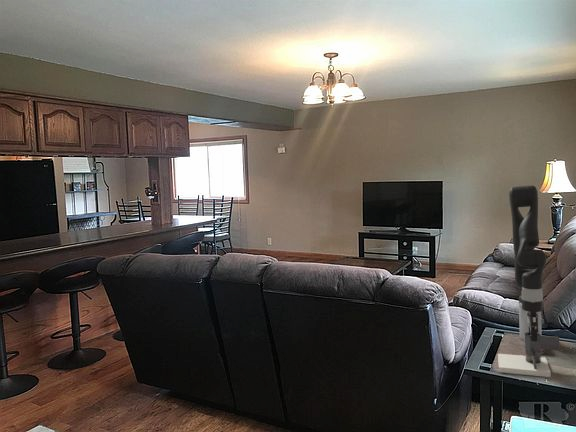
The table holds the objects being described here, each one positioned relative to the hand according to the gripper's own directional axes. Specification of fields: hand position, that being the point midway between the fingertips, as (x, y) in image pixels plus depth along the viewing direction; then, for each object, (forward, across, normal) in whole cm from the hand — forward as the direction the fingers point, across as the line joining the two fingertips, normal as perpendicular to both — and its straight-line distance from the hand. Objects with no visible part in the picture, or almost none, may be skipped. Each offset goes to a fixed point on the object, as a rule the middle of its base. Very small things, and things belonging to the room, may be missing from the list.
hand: (532, 337), depth 187 cm
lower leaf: (+10, +3, 0) cm, 10 cm away
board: (+12, +3, -4) cm, 13 cm away
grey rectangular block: (+5, 0, +3) cm, 6 cm away
